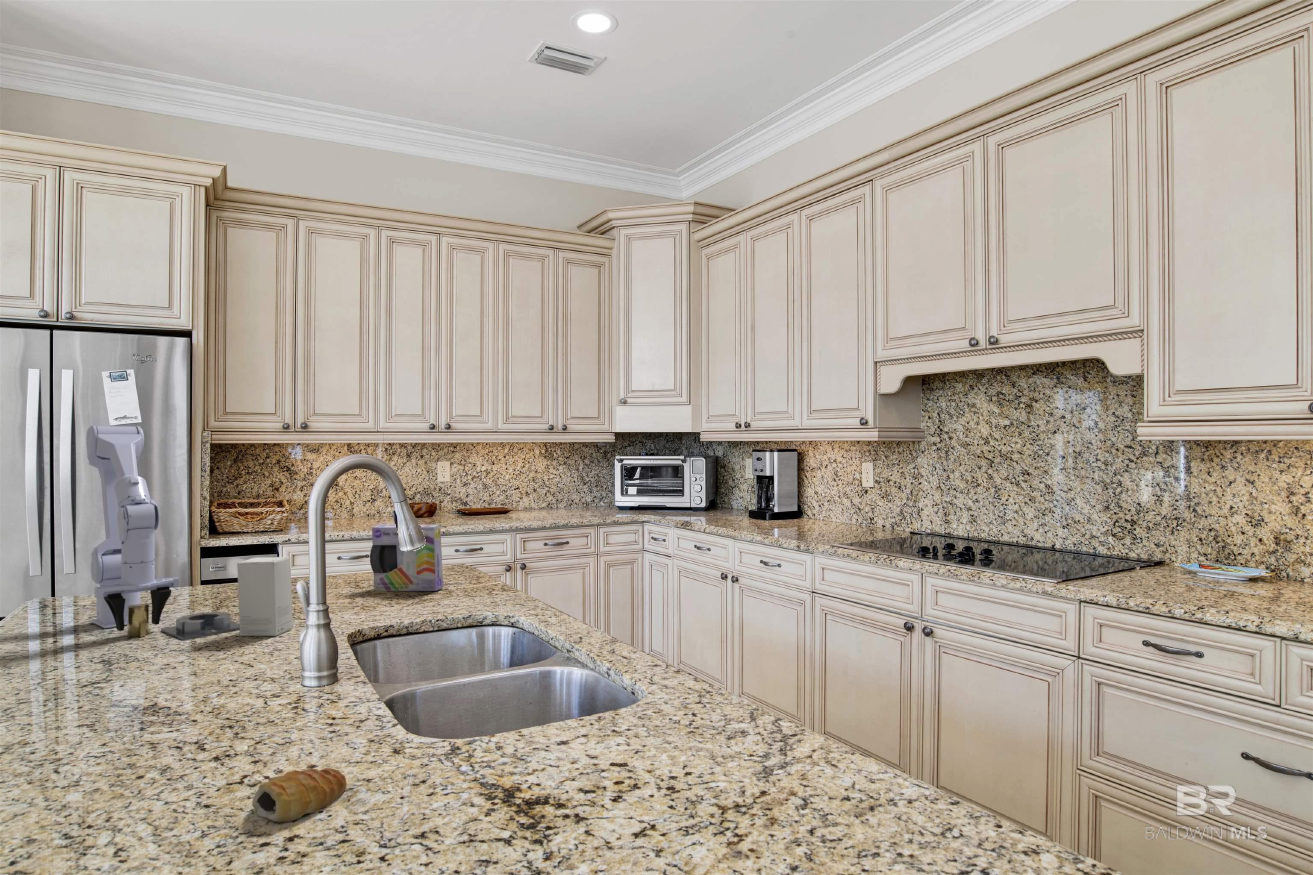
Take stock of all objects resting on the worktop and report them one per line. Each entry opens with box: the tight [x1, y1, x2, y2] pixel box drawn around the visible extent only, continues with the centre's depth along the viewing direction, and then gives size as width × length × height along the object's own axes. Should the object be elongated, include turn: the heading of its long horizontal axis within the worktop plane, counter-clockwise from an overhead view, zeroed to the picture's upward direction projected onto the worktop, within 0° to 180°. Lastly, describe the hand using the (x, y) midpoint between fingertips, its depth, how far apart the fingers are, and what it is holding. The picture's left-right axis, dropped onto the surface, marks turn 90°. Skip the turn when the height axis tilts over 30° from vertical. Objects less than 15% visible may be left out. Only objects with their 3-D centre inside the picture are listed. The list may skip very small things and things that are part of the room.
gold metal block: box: [127, 603, 150, 638], centre depth 154 cm, size 5×4×6 cm
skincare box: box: [236, 556, 294, 637], centre depth 155 cm, size 8×7×16 cm
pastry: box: [251, 767, 347, 823], centre depth 83 cm, size 9×7×4 cm
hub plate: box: [160, 611, 240, 641], centre depth 158 cm, size 12×12×3 cm
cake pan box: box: [369, 523, 444, 592], centre depth 200 cm, size 19×5×18 cm, turn 80°
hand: (138, 626), depth 154 cm, fingers open, 6 cm apart
